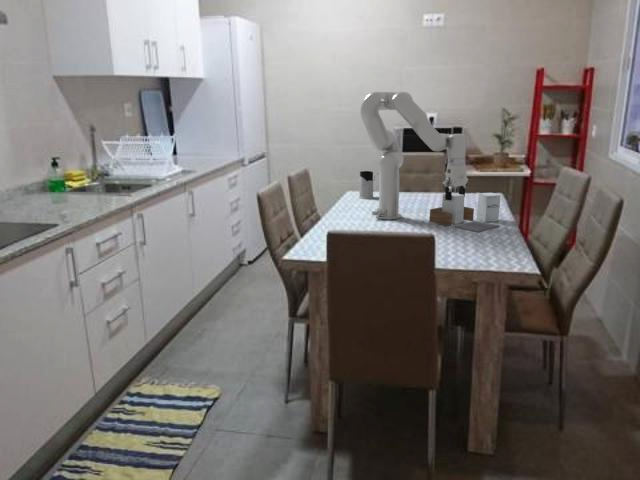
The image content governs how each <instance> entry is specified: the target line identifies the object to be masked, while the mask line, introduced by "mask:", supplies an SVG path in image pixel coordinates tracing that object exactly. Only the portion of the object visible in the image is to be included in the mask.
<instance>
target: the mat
mask: <svg viewBox="0 0 640 480" xmlns="http://www.w3.org/2000/svg"><path fill="white" fill-rule="evenodd" d="M498 227H500V224H495V223H489V222H483V221H481V220H475V221H474V220H473V221H469V222H466V223H463V224H459V225H455V226H454V228H457V229H461V230H466V231H470V232H474V233H481V232H485V231H488V230H492V229H496V228H498Z"/></svg>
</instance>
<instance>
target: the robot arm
mask: <svg viewBox="0 0 640 480" xmlns="http://www.w3.org/2000/svg"><path fill="white" fill-rule="evenodd" d="M380 111H395V112H397V113H398V114H399V116H401V118H402V119H403V120H405V122H406V123H407V124H408V125H409V126H410V127H411V128H412V130H413V131H414V132H415V133H416V135H417V136H418V137H419V138H420V139H421V140H422V141H423V143H424V144H425V145H426V146H427V147H428V148H429V149H430V150H432V151H433V152H436V153H437V152H441V151H443V150H447V164H446V165H447V166H446V171H445V180H444V181H442V183H441V184H442V188H443V190H444V192H445V193H444V194H445V200H452V193H453V192H452V190H453V188H458V187H459V188H458V194H462V195H465V196H466V189H467V186H468V181H469V178H468V176H467V174H468V173H467V166H466V163H465V161H466V159H465V158H466V135H465V134H463V133H451V134H449V133H443V132H442V133H440V132H438V130H437V129H436V128H435V127H434V126H433V125H432V124H431V122H430V121H429V118H428V116H427V114H426V113H425V111H424V110H423V109H422V108H421V106H419V105H418V104H417V103H416V102H415V101H414V99H413V97H412V95H411V93H409V92H406V91H393V92H392V91H372V92H370V93H368V94H367V95H366V96H365V97H364V99H363V100H362V102H361V105H360V116H361V119H362V121H363V124H364V127H365V130H366V132H367V134H368V136H369V137H368V138H369V139H370V143H371V145H372V146H373V148H374V149H375V150H376V151H380V153H381V156H380V157H379V161H378V173H379V174H378V175H379V178H378V179H379V180H378V183H379V186H378V187H379V188H378V189H379V191H378V196H379V197H378V207H377V210H374V211H372V212H371V215H372V216H375V218H377V219H379V220H391V219H393V220H399V219H401V218H402V214H401V213H400V212H399V206H400V205H399V204H400V203H399V202H400V168H401V167H402V166H403V164H404V161H405V160H404V155H403V153H402V149H401V147H400V146H399V143H398V140H397V137H396V136H395V134H394V133H393V132H392V131H391V130H388V129H387V128H386V126H385V124H384V121H383V119H382V117H381V115H380Z"/></svg>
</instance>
